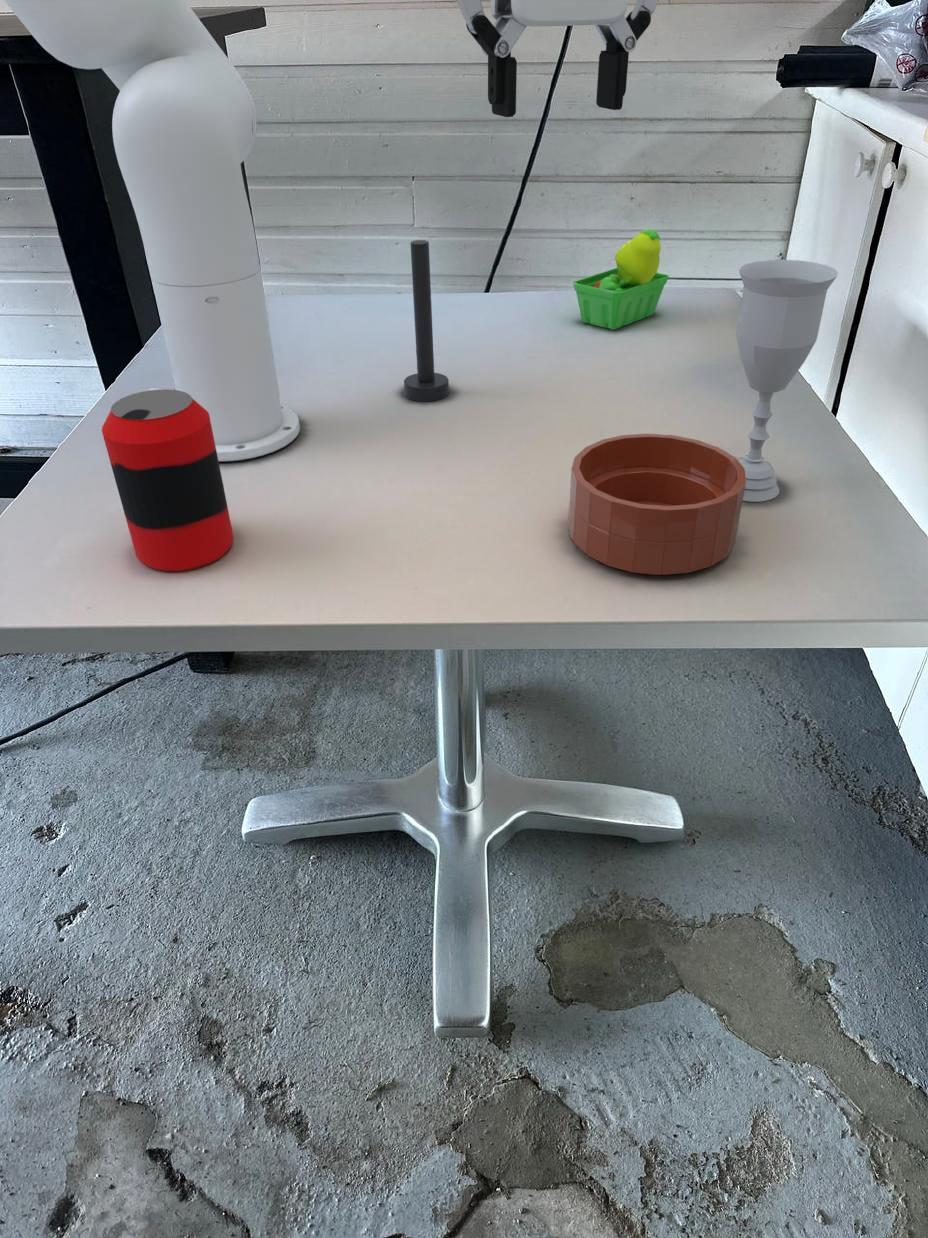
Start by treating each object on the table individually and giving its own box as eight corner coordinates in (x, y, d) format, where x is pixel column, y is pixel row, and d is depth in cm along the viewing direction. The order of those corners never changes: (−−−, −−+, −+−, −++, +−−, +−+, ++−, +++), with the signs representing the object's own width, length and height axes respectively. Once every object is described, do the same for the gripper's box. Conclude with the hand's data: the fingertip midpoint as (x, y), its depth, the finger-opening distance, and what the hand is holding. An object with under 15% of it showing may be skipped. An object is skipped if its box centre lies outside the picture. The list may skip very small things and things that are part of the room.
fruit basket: (620, 303, 122) (627, 214, 115) (675, 315, 117) (686, 223, 110) (567, 322, 115) (572, 229, 109) (624, 337, 110) (632, 240, 104)
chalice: (740, 514, 73) (781, 288, 63) (690, 481, 78) (719, 267, 68) (809, 494, 76) (859, 275, 65) (756, 464, 81) (794, 255, 70)
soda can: (117, 567, 69) (74, 420, 62) (166, 520, 75) (132, 381, 68) (207, 578, 67) (174, 428, 60) (249, 529, 73) (223, 388, 66)
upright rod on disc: (399, 400, 95) (389, 246, 86) (411, 383, 99) (402, 235, 90) (443, 402, 94) (437, 248, 85) (453, 386, 98) (448, 236, 89)
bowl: (559, 572, 67) (562, 501, 63) (577, 494, 77) (581, 428, 73) (735, 589, 64) (749, 516, 61) (730, 506, 74) (742, 439, 71)
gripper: (645, -156, 68) (624, 101, 78) (435, -165, 63) (441, 113, 73) (703, -170, 63) (673, 110, 73) (477, -180, 57) (478, 123, 67)
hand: (557, 111), depth 73 cm, fingers open, 9 cm apart
